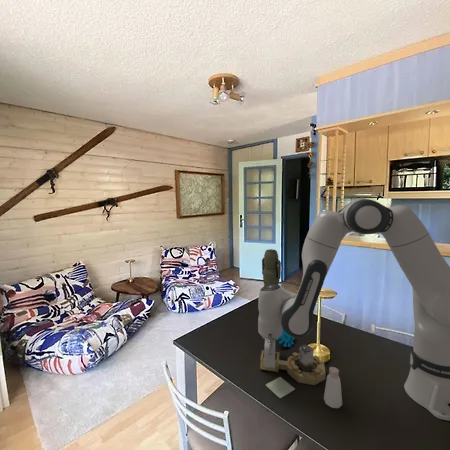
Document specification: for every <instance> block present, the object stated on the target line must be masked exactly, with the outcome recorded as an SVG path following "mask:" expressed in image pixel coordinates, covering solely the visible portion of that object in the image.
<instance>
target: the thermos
mask: <svg viewBox="0 0 450 450" xmlns="http://www.w3.org/2000/svg"><path fill="white" fill-rule="evenodd" d="M281 266H282V262H281V260H279V253H278V251H277V250H275V249H272V248H271V249H270V248H269V249H266V250H265V252H264V254H263V257H262V259H261V274H262V280H263V287H264V286H266V285H269V284H277V285H279V283H280V280H281V276H282V267H281Z"/></svg>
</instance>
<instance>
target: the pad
mask: <svg viewBox="0 0 450 450" xmlns="http://www.w3.org/2000/svg"><path fill="white" fill-rule="evenodd" d="M265 386H266V388H268V389H269V390H270V391H271V392H272V393H273V394H274V395H276V396H277V398H279V399H282V398H283V397H286V396H287V395H288V394H290V393H292V392H293V391H295V390H296V388H295V387H293V385H291V384H290V383H289V382H288V381H286V380H285V379H284V378H282V377H281V376H279V377H277V378H274V380H272V381H270V382H268V383H265Z"/></svg>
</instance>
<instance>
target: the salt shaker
mask: <svg viewBox="0 0 450 450" xmlns="http://www.w3.org/2000/svg"><path fill="white" fill-rule="evenodd" d="M328 369H329V370H328V374H326V375H327V376H326V379H325V380H326V382H325V387H324V393H323V400H324V402H325V403H324V404H326V405H327V406H328V407H330V408H332V409H340V408H341V406H343V397H342V384H341V378H340V376H339V373H340V369H338V368H336V367H334V366H330V367H329V368H328Z"/></svg>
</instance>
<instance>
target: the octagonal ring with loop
mask: <svg viewBox="0 0 450 450" xmlns="http://www.w3.org/2000/svg"><path fill="white" fill-rule="evenodd" d="M264 351H265V349H263V350H261V353H260V358H259V359H260V366H259V367H260V370H264V371H269V372H276V373H279V370H284V371H286V373H287V374H288V375H289V376H290V377H291V378H292V379H294V380H295V381H296V382H297V383H299V384H300V383H301V384H306V385H311V386H316V385H318V384H319V383H321V382H323V381H325V380H326V378H327V376H326V375H327V373H326V372H327V371H326V366H325V362H323V361H322V360H321V359H320V356H318V355H316V354H314V355H313V370H314V372H312V373H308V372H302V371H300V370H299V352H293V353H292V354H291V356H289V357H287V360H282V359H280V352H278V351H275V367H266V366H265V364H264Z"/></svg>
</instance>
